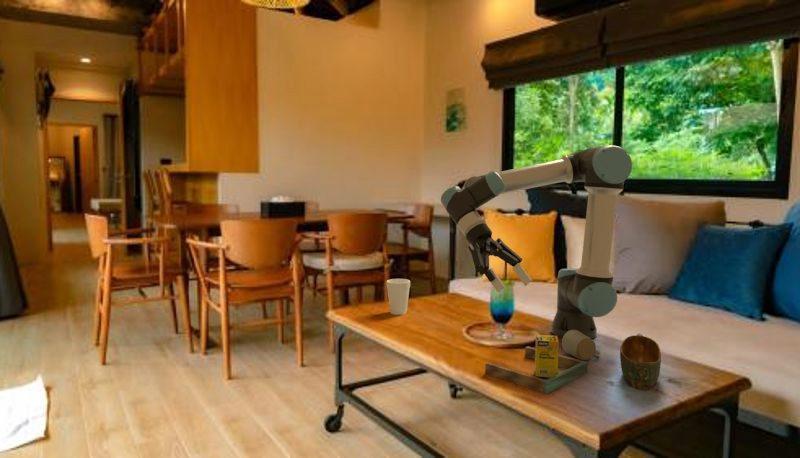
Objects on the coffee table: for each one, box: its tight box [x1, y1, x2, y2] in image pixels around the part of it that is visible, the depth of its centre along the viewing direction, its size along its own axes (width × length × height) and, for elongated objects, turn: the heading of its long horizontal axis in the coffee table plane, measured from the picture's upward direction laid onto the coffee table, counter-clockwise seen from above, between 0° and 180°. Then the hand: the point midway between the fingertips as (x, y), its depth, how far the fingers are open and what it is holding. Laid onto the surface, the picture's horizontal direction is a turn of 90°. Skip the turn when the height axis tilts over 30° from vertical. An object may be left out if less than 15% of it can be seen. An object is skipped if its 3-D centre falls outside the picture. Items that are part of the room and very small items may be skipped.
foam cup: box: [386, 278, 411, 316], centre depth 220 cm, size 10×9×13 cm
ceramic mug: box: [561, 330, 601, 361], centre depth 168 cm, size 11×8×8 cm
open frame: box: [484, 346, 589, 395], centre depth 154 cm, size 20×21×3 cm
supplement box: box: [534, 334, 560, 380], centre depth 152 cm, size 6×6×11 cm
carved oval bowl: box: [619, 333, 662, 391], centre depth 150 cm, size 13×20×10 cm, turn 131°
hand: (515, 286), depth 158 cm, fingers open, 13 cm apart
